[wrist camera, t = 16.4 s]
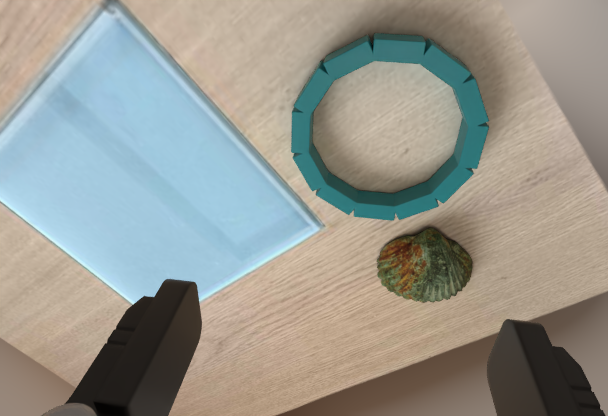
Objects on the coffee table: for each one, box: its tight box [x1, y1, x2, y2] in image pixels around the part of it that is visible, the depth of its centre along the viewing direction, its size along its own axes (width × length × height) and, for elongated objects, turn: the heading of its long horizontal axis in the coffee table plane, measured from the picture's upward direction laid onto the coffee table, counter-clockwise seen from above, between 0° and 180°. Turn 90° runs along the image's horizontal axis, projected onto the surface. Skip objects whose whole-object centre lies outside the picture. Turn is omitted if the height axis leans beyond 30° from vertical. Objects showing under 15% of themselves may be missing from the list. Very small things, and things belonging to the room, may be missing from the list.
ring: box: [291, 33, 489, 220], centre depth 37 cm, size 16×16×2 cm
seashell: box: [377, 228, 472, 303], centre depth 44 cm, size 10×4×10 cm
